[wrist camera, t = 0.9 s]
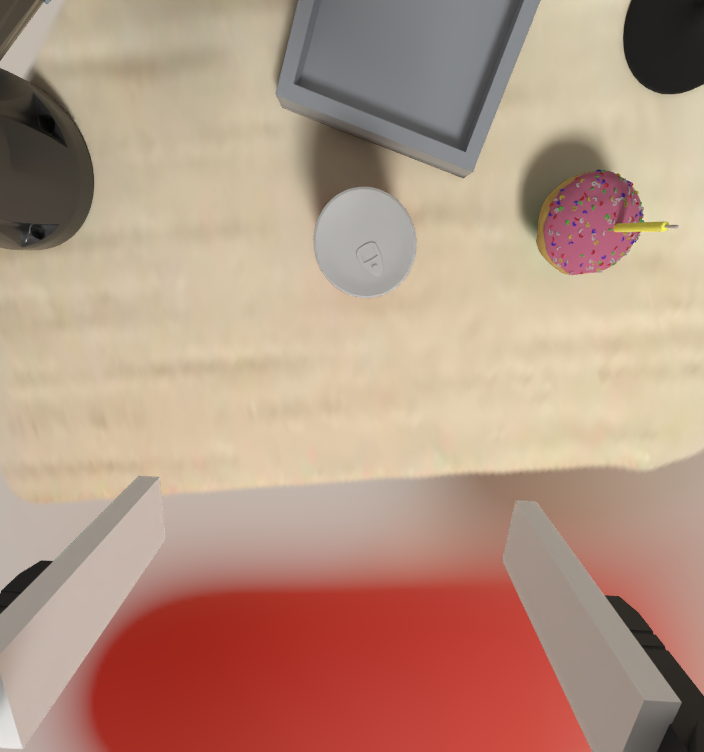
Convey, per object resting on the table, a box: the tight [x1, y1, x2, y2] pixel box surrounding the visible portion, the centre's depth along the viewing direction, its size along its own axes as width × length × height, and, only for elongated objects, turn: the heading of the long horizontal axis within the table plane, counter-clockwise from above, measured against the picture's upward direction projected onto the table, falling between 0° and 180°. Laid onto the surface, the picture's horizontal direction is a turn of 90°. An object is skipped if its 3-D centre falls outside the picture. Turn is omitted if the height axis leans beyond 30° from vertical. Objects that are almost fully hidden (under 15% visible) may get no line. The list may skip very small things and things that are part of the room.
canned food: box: [314, 187, 416, 298], centre depth 33 cm, size 8×8×11 cm
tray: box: [276, 0, 540, 178], centre depth 32 cm, size 18×18×3 cm
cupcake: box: [536, 170, 679, 275], centre depth 32 cm, size 9×8×12 cm
